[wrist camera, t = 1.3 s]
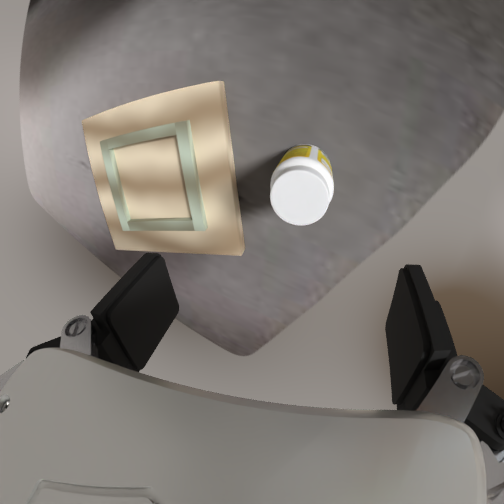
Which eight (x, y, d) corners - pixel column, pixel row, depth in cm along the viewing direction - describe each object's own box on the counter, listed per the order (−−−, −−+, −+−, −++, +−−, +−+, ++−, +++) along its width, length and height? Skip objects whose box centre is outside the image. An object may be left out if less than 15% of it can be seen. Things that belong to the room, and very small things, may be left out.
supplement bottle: (274, 179, 26) (253, 213, 19) (292, 135, 23) (277, 152, 16) (319, 199, 26) (316, 241, 19) (340, 157, 23) (347, 183, 16)
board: (90, 118, 27) (77, 121, 25) (223, 81, 22) (214, 80, 20) (122, 244, 36) (112, 252, 34) (245, 248, 31) (239, 259, 29)
